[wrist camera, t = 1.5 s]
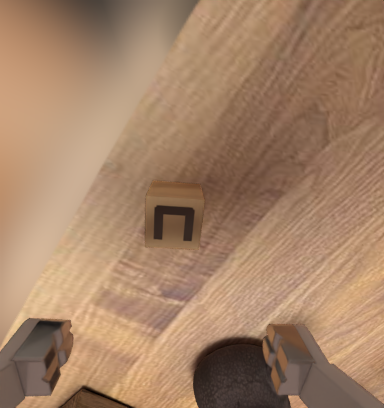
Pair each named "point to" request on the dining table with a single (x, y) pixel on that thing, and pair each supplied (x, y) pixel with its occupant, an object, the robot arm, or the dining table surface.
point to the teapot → (236, 380)
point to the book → (91, 401)
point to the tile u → (174, 215)
